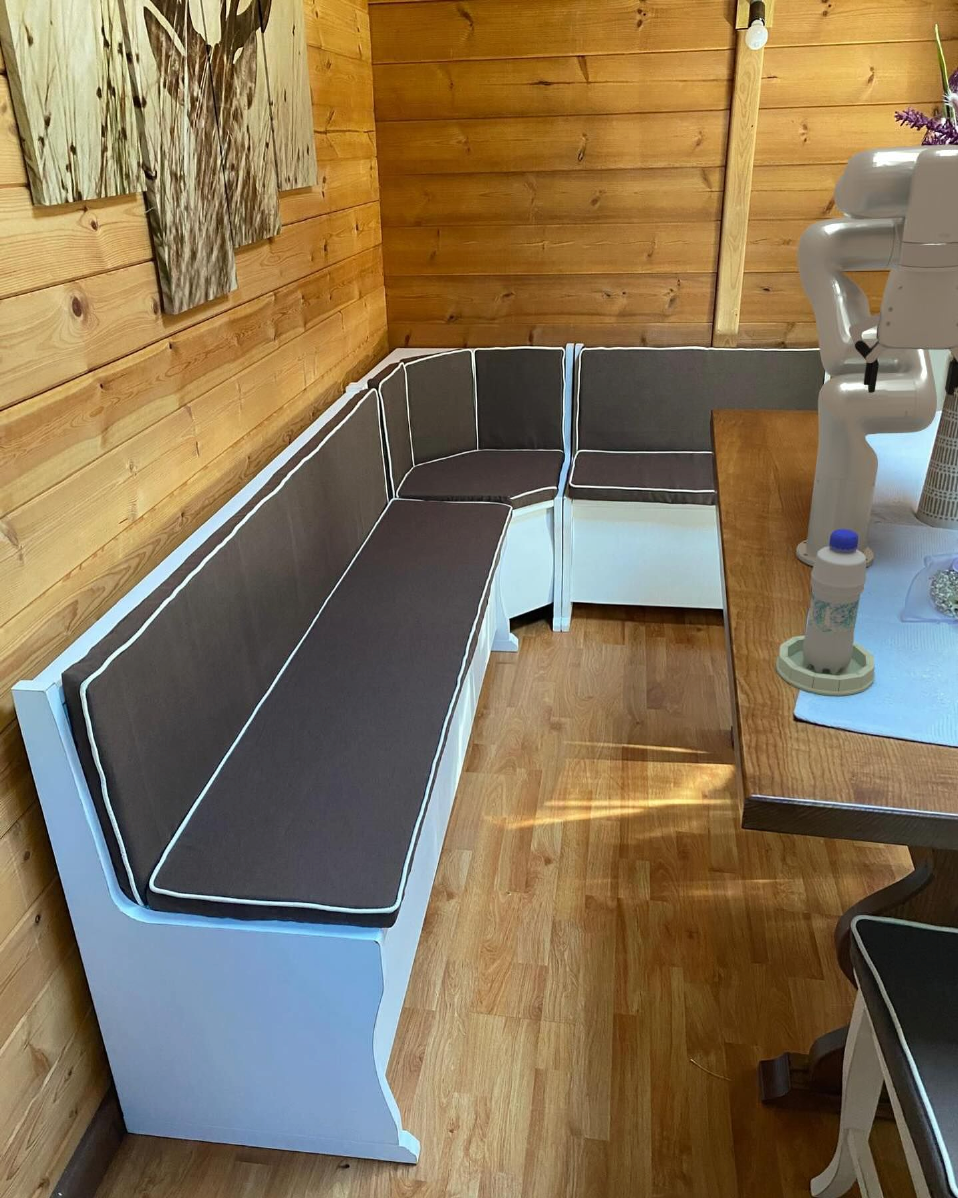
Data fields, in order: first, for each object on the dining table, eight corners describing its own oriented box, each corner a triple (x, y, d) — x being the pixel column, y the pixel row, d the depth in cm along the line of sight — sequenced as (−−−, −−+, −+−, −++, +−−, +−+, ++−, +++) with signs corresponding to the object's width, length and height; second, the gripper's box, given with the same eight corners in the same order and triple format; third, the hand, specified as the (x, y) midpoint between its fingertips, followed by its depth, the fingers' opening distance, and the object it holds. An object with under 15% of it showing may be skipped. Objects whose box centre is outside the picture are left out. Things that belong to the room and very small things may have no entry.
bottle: (810, 649, 127) (828, 517, 118) (858, 663, 123) (881, 528, 114) (791, 669, 122) (808, 533, 113) (840, 684, 118) (863, 545, 110)
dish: (777, 643, 130) (779, 629, 129) (871, 654, 126) (873, 639, 125) (774, 688, 119) (776, 673, 118) (876, 701, 116) (879, 685, 115)
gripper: (1003, 252, 114) (976, 387, 121) (857, 254, 119) (840, 383, 127) (1015, 258, 107) (985, 400, 115) (859, 260, 113) (841, 396, 120)
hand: (909, 391), depth 121 cm, fingers open, 9 cm apart
